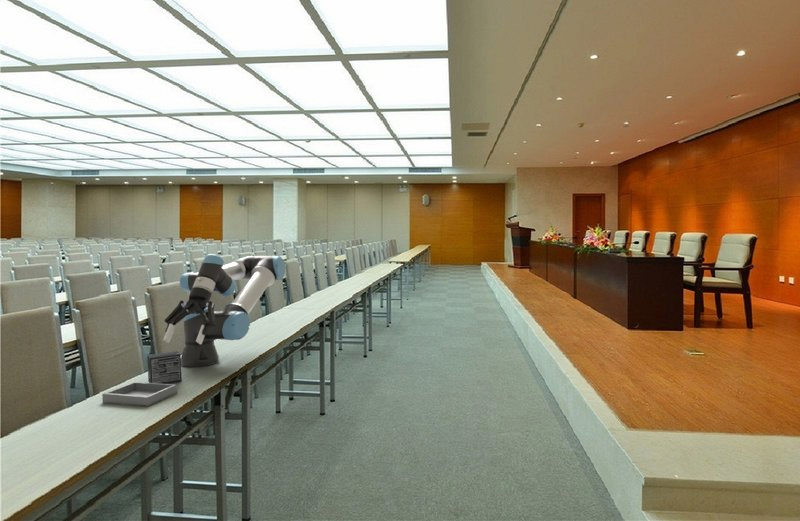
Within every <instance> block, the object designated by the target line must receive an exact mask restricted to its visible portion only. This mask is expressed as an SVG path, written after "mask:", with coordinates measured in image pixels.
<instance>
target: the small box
mask: <svg viewBox="0 0 800 521" xmlns="http://www.w3.org/2000/svg"><path fill="white" fill-rule="evenodd" d="M181 356H182V353H180V352H178V350H175V351H169V352H163V353H153V354H148V355H147V376H148V378H147V379H148V381H147V383H148V382H149V383H160V384H173V383H175V384H176V383H179V382H180V383H181V382H182V381H183V378H182V365H181Z"/></svg>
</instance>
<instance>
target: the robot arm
mask: <svg viewBox="0 0 800 521" xmlns="http://www.w3.org/2000/svg"><path fill="white" fill-rule="evenodd" d="M224 263H225V262H224V259H223V258H222V257H221V256H220V255H218V254H214V253H210V254H207V255H205V256H204V258H203V261H202V262H201V265H200V267H199V270H198V271H197V272H186V273H183V274H181V276H180V278H179V286H180V289H181V290H183V291H185V292H189V295H188V300H187V301H184V300H180V301H179V303H178V305H177V306H176V307H175V308H174V309H173V310H172V311H171V312H170V314H169V315H168V316H167V317H166V318H164V320H163V321H164V323H166V324H167V326H166V329H165V331H164V332H165V334H164V337H163V339H162V340H163V341H164V342H165V343H166V344H170V341H171V340H172V337H173V334H174V332H175V330H176V325H177V324H178V323H179V322H181V321H182V320H183V334H184V338H183V339H184V347H183V351H182V353H181V367H187V368H193V367H194V368H196V367H197V368H199V367H200V368H201V367H207V366H212V365H215V364H218V363H219V360H220V359H219V357H220V356H219V354H218V350H217V348H216V346H215V340H221V341H222V340H225V341H226V340H227V341H239V340H242V339H243V338H244V337H246V335H247V334H248V332H249V330H250V328H249V327H250V326H251V319H250V313H251V311H252V310H253V308H254V307H255V306H256V304H257V303H258V302H259V299H260V298H261V297H262V295H263V294H264V292H265V291H266V289H267V288H268V287H271V286H273V285H274V284H275V282H276V281H282V280H283V279H285V275H286V266H285V262H284V259H283V257H282V256H280V255H247V256H245V257H243V256H242V257H241V258H237V259H234V260H231V261H230V262H229V263H227V264H224ZM242 279H244V280H247V282H246V283H245V284H244V286H243V287H242V288H241V290H240V292H239V293H238V294H237V295H236V297H235V298H234V299H233V301H232V302H231V303H227V304H226V305H225V306H223V308H222V309H221V310H215V306H216V304H215V303H214V301H212V300H211V297H212V294H213V293H214V292H215V293H218V294H219V295H221V296H222V297H228V296H230V295H232V294H233V293H234V292H235V291H236V287H237V286H236V283H235V281H234V280H236V281H239V280H242Z"/></svg>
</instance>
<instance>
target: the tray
mask: <svg viewBox="0 0 800 521" xmlns="http://www.w3.org/2000/svg"><path fill="white" fill-rule="evenodd" d="M101 394H102V404H110V403H112V405H121V404H124V405H123V406H125V405H126V406H134V407H135V406H136V407H145V408H146V407H147V408H148V407H150V406H153V405H154V404H157V403H159V402H161V401H164V400H166V399H168V398H170V397H172V396H175V395H177V394H178V384H173V383H169V384H160V383H148V382H147V381H146V382H143V381H133V382H130V383H128V384H124V385H122V386H119V387H116V388H115V389H111V390H108V391H106V392H103V393H101Z"/></svg>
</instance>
